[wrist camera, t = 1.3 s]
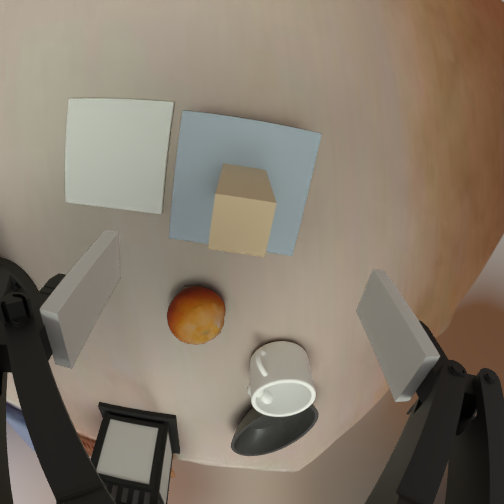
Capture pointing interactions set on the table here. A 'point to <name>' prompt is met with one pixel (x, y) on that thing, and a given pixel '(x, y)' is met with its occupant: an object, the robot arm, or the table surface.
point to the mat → (117, 153)
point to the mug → (280, 379)
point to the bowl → (271, 431)
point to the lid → (241, 183)
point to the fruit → (196, 315)
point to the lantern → (135, 454)
